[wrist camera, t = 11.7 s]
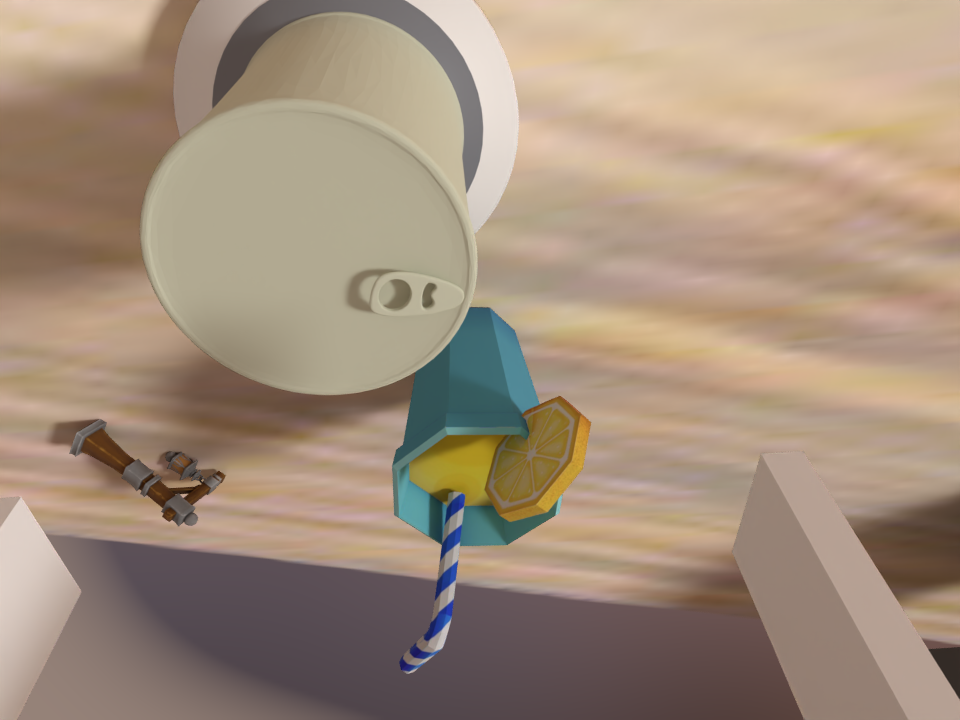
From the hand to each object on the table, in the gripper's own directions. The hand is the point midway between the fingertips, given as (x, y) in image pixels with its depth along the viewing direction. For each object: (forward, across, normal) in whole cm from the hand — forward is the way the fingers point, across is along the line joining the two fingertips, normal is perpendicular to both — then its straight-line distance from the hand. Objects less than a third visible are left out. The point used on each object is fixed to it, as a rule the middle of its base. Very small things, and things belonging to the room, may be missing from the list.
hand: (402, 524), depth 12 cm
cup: (+22, -1, +12) cm, 25 cm away
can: (+20, +3, -1) cm, 20 cm away
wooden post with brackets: (+22, +17, +17) cm, 33 cm away
